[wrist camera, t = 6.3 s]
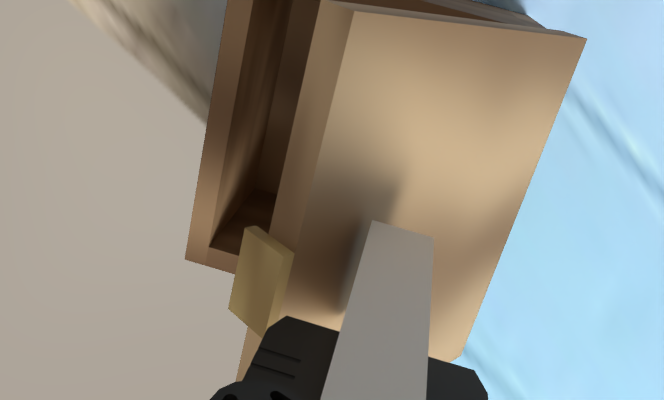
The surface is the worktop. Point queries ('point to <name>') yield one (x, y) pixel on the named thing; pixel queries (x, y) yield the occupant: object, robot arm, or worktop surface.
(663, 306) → the worktop surface
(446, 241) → the lid
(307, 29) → the chest
